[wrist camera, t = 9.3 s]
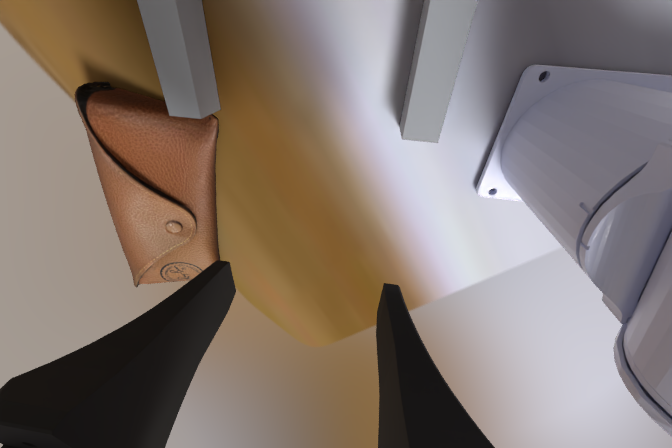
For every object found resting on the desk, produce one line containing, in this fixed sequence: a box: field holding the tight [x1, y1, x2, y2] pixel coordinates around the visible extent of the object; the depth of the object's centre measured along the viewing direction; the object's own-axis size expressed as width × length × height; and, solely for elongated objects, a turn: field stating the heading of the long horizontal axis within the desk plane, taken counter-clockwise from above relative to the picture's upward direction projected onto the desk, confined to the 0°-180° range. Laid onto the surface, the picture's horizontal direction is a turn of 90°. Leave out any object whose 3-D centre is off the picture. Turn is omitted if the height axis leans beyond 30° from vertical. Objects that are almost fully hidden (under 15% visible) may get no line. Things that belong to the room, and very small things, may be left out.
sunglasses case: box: [75, 82, 220, 287], centre depth 23 cm, size 18×7×7 cm, turn 168°
